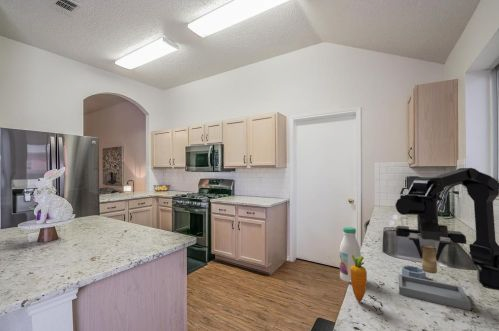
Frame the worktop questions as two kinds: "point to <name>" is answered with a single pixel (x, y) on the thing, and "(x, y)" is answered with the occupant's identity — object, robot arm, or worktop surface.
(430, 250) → the wooden pin
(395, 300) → the worktop surface
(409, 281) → the tray
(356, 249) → the milk bottle
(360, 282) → the carrot
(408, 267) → the blue-grey socket block
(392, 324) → the worktop surface
